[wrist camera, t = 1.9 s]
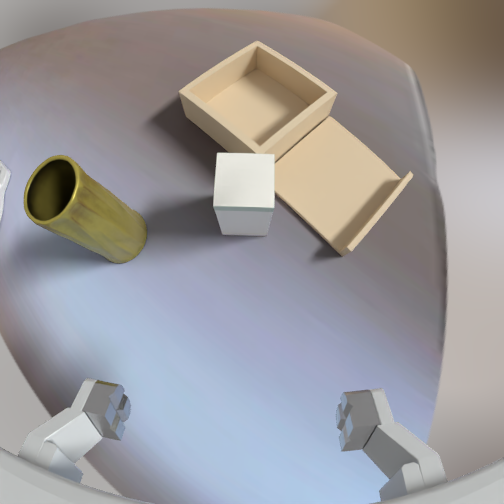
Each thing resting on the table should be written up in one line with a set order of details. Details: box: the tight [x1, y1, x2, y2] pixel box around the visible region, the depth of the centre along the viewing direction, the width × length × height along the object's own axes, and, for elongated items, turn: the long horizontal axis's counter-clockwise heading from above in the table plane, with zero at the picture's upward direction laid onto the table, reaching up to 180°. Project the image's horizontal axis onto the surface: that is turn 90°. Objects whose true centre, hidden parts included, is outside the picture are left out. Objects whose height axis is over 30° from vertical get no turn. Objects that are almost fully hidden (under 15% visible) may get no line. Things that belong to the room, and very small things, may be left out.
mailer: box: [179, 41, 413, 257], centre depth 31 cm, size 24×12×5 cm, turn 45°
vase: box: [24, 155, 147, 263], centre depth 24 cm, size 6×6×14 cm
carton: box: [213, 153, 275, 236], centre depth 28 cm, size 5×4×9 cm
